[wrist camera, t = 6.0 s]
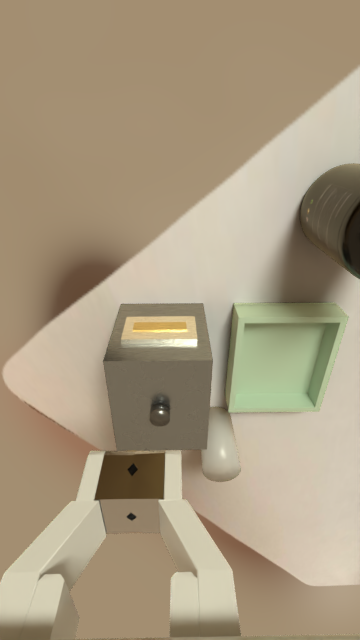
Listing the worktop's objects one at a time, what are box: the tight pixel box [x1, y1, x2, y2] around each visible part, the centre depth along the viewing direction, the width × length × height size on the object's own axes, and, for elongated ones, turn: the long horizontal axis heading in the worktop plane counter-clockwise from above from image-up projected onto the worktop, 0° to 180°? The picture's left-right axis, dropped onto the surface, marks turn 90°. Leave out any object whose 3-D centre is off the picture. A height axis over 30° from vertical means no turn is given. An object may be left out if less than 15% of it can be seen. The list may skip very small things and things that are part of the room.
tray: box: [225, 303, 349, 413], centre depth 33 cm, size 12×10×3 cm
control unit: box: [103, 303, 213, 451], centre depth 29 cm, size 10×8×10 cm
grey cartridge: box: [201, 407, 241, 482], centre depth 36 cm, size 4×4×7 cm
